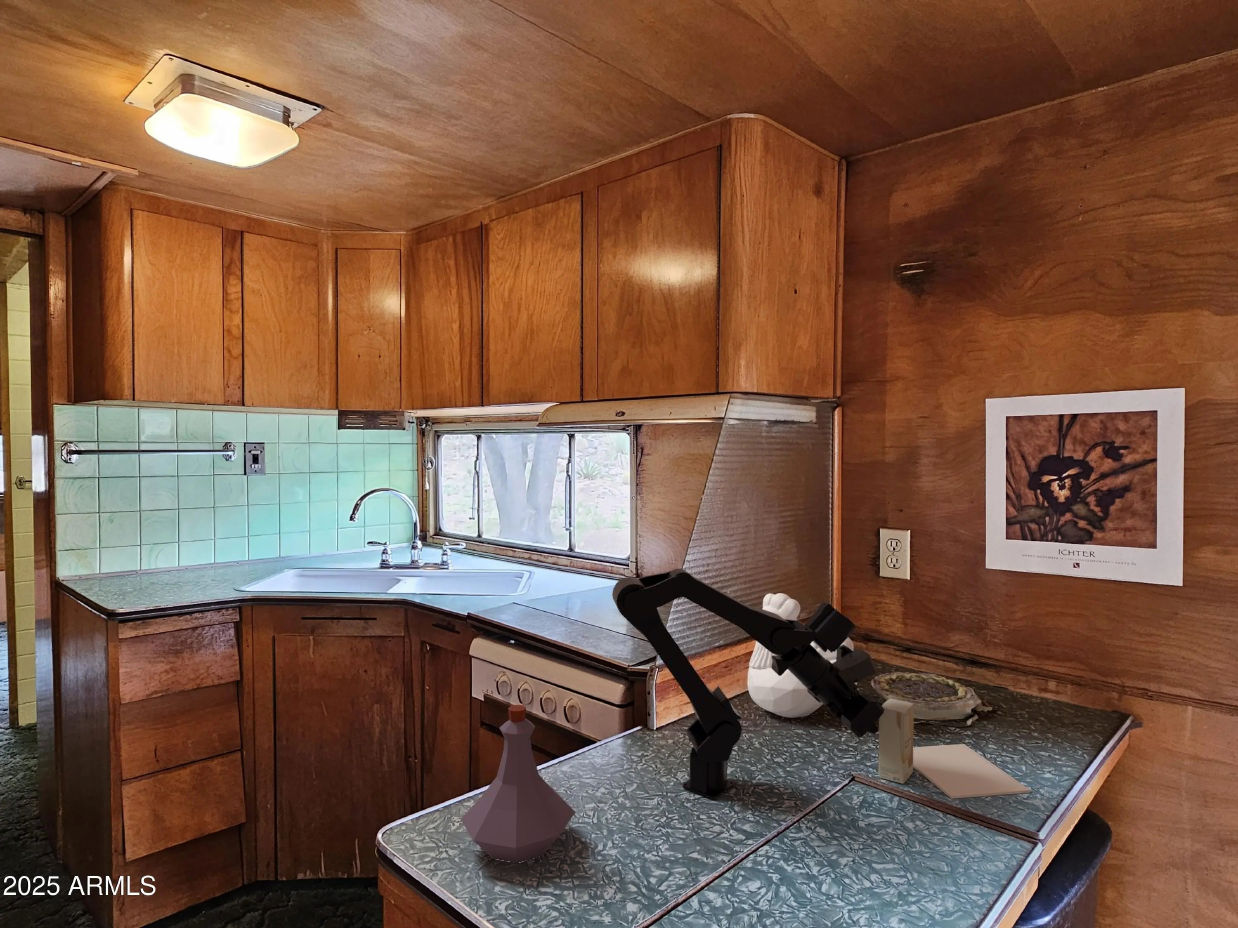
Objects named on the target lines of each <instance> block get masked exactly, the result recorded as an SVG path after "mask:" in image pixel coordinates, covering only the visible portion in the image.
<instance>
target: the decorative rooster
mask: <svg viewBox="0 0 1238 928" xmlns="http://www.w3.org/2000/svg"><path fill="white" fill-rule="evenodd" d="M761 609H763V610H766V611H769V612H772V613H775V614H778V615H779V616H780V617H782V618H783V619H788V620H798V617H799V614H800V612H801V605H800V603H799V601H797V600H796V599H793V598H791V597H790V596H789V595H788V594H786V593H780V592H778V593H775V594H774V593H767V594H766V595H765V596H764V597H763V600H762V608H761ZM811 645H812V646H813V647H814V648H815V649H816V650H817V651H818V652H819V653H820V654H821V655H822V656H823V657H824V658H825V659H827V660H829V661H830V662H831V663H834V662H835V661H836V658H837V650H836V651H835V652H832V653H831V652H830V651H829V650H828V649H827V651H826V652H824V651H822V650H821V649H820V648H819V647H818V646H817V645H815V644H814V643H813V642H812V643H811ZM841 645H845V646H847V647H848V648H850V649H851V650H852V651H853V650H854V649H853V648H855V646H854V645H855V644H854V642H853V641H852V639H851V638H850V636H849V637H848V638H847V639H846V640H845V641H844V642H843V643H842V644H841ZM841 645H840V646H841ZM773 655H774V656H776V655H775V654H773V653H771V652H770V651H768V650H767V649H766V648H765V647H763V646H762V645H761V644H760V643H759V642H757V641H756V640H755V644H754V649H753V652H752V654H751V657H750V660H749V663H748V670H747V671H748V672H747V689H748V693H749V696H750V697H751V699H752V700H753V702H754V703H755V704H756V705H757V706H759V707H760V708H762V709H764V710H765V711H767V712H771V713H773V714H775V715H777V716H781V717H785V718H789V719H790V718H791V719H793V718H803V717H804V718H806V717H807V716H809V715H811V714H813V713H814V712H815V711H816V710H817V709H819V708H820V707H821V706H823V705H824V704H823V703H822V702H821V703H819V702H818V701H817V700H816V699H814V698H813V697H812V696H811V695H810V694H809V693H808V692H807V688H806V687H805V686H804V685H803V684H802V683H801V682H800V681H799V680H798V679H797V678H796V677H795V676H794V675H793V674H792V673H791V672H790V671H789V670H788V669H787V670H786V671H785V672H784V673H783V674H782V675H781V676H779V675H778V674H777V673H775V672H774V671H773V670H772V668H771V667H772V656H773ZM855 684H856V685H857V686H858V682H856V683H855Z"/></svg>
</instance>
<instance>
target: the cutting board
mask: <svg viewBox="0 0 1238 928" xmlns="http://www.w3.org/2000/svg"><path fill="white" fill-rule="evenodd" d="M913 769H914V770H916V771H917V772H919V774H921V775H922V776H923V777H925V778H926V779H927V780H928V781H930V782H931V783H932V784H933V785H934V786H935V787H937V788H938V789H939V790H940V791H942V793H944V794H945V795H946V796H947V797H948V798H950V799H953V800H954V799H962V798H963V799H964V798H977V797H979V798H980V797H989V796H990V797H991V796H1001V795H1005V796H1006V795H1015V794H1027V793H1029V794H1030V793H1031V789H1030V788H1028V787H1027V786H1025V785H1024V784H1023V783H1022V782H1020V781H1018V780H1016V779H1015V778H1013V777H1012V776H1011V775H1010V774H1008V773H1006V772H1005V771H1004V770H1002V769H1001V768H1000V767H998V766H996V765H995V764H993V763H992V762H990V761H989V760H988V759H987V758H985V757H983V756H982V755H980V754H979V753H978V752H976V751H975V750H973V749H972V748H970V747H969V746H967V745H966V744H964V743H962V744H961V743H959V744H945V745H930V746H928V745H927V746H915V747H914V746H913Z"/></svg>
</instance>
